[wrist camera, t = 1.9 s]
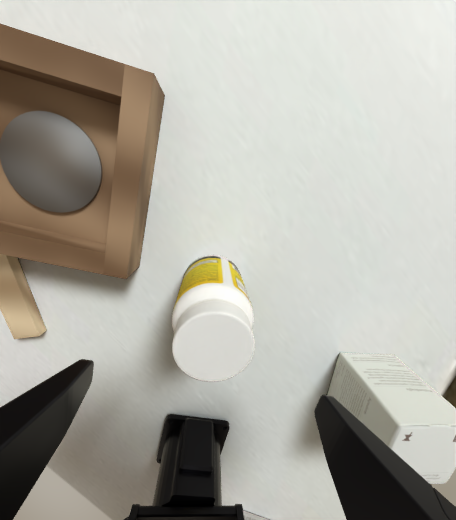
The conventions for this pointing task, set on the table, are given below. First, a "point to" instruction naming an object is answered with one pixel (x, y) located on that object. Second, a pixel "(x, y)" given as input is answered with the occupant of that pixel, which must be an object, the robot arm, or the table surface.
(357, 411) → the skincare box
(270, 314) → the table surface
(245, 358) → the supplement bottle
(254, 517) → the coffee box
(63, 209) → the holder
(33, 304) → the tan wooden flat bar
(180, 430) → the robot arm
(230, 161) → the table surface
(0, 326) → the table surface
